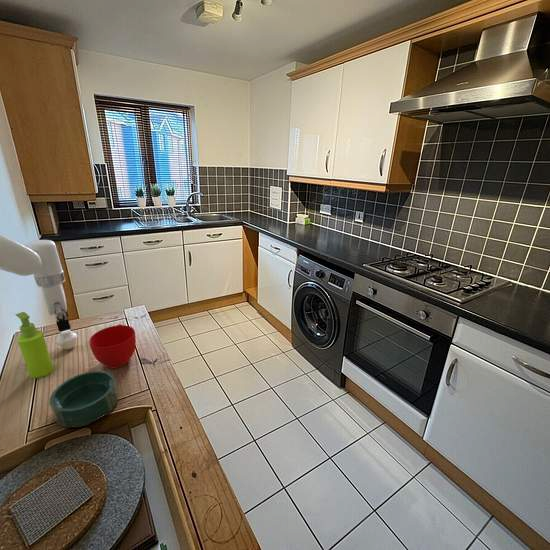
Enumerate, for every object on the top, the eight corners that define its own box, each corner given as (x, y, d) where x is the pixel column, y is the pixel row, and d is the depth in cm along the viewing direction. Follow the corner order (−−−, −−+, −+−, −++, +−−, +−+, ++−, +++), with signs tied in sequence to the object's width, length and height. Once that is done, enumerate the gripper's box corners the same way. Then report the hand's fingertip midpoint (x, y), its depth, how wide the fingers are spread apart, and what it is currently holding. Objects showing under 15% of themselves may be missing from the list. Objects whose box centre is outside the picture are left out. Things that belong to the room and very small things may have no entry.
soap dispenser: (48, 361, 95) (30, 307, 88) (56, 370, 92) (39, 314, 85) (25, 371, 91) (5, 315, 84) (34, 380, 87) (13, 322, 80)
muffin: (81, 340, 107) (77, 324, 104) (76, 350, 101) (71, 333, 99) (62, 343, 105) (57, 326, 103) (55, 353, 100) (50, 336, 97)
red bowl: (143, 341, 108) (139, 317, 104) (136, 370, 92) (131, 344, 89) (104, 346, 104) (98, 322, 100) (90, 377, 89) (83, 350, 85)
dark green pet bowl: (57, 440, 69) (50, 421, 67) (54, 402, 80) (48, 384, 78) (123, 411, 77) (120, 393, 75) (113, 380, 88) (109, 364, 86)
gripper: (35, 272, 98) (49, 316, 105) (35, 290, 85) (51, 339, 92) (62, 268, 102) (74, 310, 109) (66, 284, 90) (79, 331, 96)
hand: (64, 323), depth 100 cm, fingers open, 9 cm apart
